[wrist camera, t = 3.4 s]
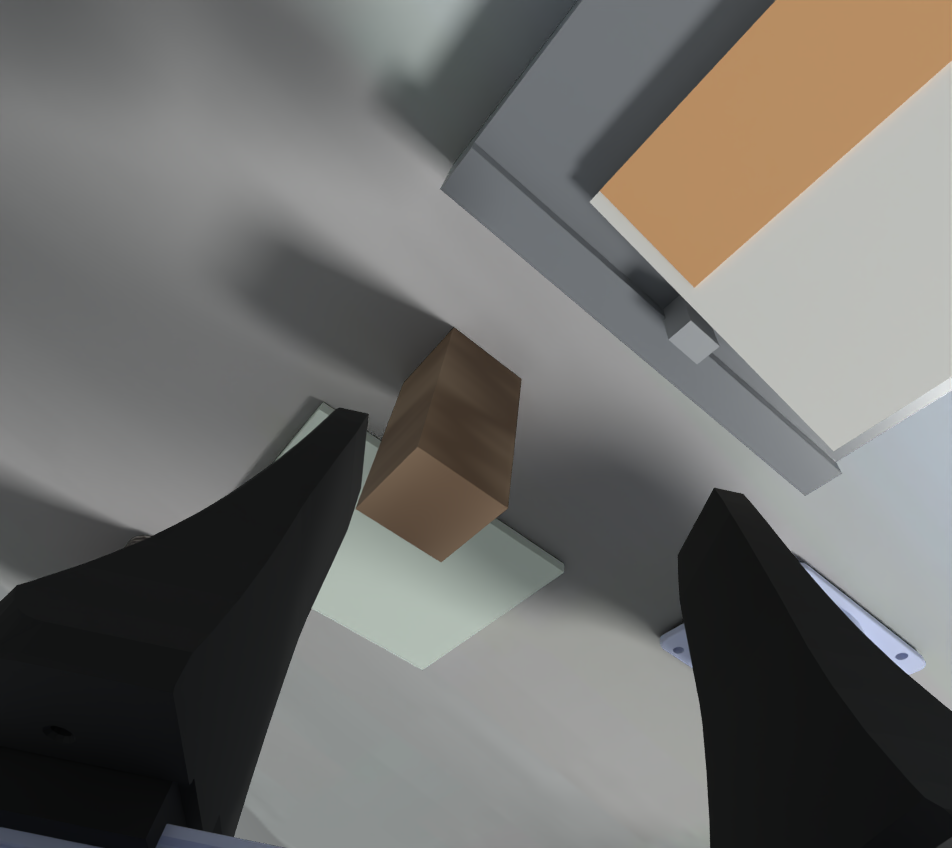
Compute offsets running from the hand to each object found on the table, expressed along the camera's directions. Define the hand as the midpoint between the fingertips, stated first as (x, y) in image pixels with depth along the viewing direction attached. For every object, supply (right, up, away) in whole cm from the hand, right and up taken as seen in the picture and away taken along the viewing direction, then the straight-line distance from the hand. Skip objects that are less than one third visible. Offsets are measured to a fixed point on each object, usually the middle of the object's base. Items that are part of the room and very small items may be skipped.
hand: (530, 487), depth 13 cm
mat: (-6, -5, +17) cm, 18 cm away
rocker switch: (+8, +7, +2) cm, 11 cm away
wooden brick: (-2, +3, +11) cm, 11 cm away
